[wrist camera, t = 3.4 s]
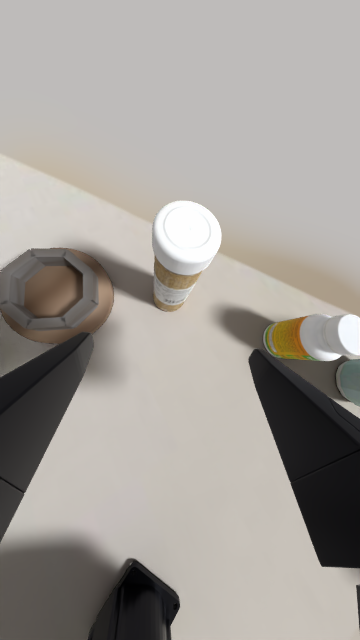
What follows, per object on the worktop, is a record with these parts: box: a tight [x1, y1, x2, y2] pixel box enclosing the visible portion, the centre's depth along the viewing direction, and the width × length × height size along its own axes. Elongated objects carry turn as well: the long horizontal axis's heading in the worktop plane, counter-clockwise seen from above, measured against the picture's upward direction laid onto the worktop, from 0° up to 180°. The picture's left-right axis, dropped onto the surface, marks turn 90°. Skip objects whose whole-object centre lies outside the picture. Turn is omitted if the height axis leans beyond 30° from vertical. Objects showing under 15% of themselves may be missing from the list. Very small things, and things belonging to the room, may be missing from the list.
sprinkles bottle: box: [152, 201, 221, 312], centre depth 16 cm, size 5×5×14 cm
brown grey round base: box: [0, 248, 114, 344], centre depth 19 cm, size 12×12×4 cm
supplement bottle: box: [263, 314, 360, 361], centre depth 20 cm, size 5×5×10 cm
